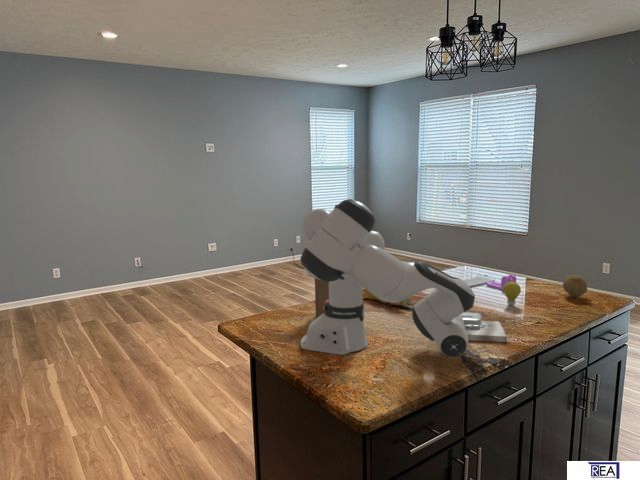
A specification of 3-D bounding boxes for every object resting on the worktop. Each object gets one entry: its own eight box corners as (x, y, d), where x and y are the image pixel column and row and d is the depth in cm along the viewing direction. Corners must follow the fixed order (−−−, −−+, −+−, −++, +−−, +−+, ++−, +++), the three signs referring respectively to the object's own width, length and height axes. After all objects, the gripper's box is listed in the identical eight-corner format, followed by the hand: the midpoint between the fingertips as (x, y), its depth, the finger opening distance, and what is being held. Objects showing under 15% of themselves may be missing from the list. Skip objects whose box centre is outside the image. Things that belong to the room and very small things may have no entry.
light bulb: (523, 306, 182) (525, 282, 180) (511, 308, 180) (512, 284, 178) (511, 302, 188) (512, 279, 187) (498, 304, 186) (499, 281, 184)
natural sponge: (556, 295, 195) (558, 273, 193) (571, 293, 198) (572, 271, 197) (575, 301, 187) (577, 278, 185) (590, 298, 190) (592, 275, 188)
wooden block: (315, 318, 176) (313, 268, 172) (325, 310, 185) (324, 263, 181) (338, 321, 171) (337, 270, 168) (348, 313, 180) (347, 264, 177)
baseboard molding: (430, 287, 215) (448, 293, 205) (430, 281, 214) (448, 287, 204) (475, 278, 230) (495, 283, 219) (476, 272, 229) (495, 277, 219)
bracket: (515, 290, 206) (516, 275, 205) (507, 292, 203) (508, 277, 202) (492, 284, 217) (492, 270, 216) (484, 285, 214) (484, 271, 213)
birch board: (431, 338, 153) (431, 332, 152) (430, 323, 166) (430, 318, 166) (506, 342, 147) (506, 336, 147) (499, 326, 161) (499, 321, 161)
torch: (367, 304, 202) (414, 309, 184) (356, 299, 197) (403, 304, 179) (371, 286, 204) (417, 290, 186) (360, 282, 199) (406, 284, 181)
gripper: (486, 318, 134) (480, 304, 148) (416, 314, 139) (416, 301, 152) (485, 338, 135) (479, 322, 149) (416, 334, 140) (416, 319, 153)
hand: (447, 311), depth 150 cm, fingers open, 8 cm apart
